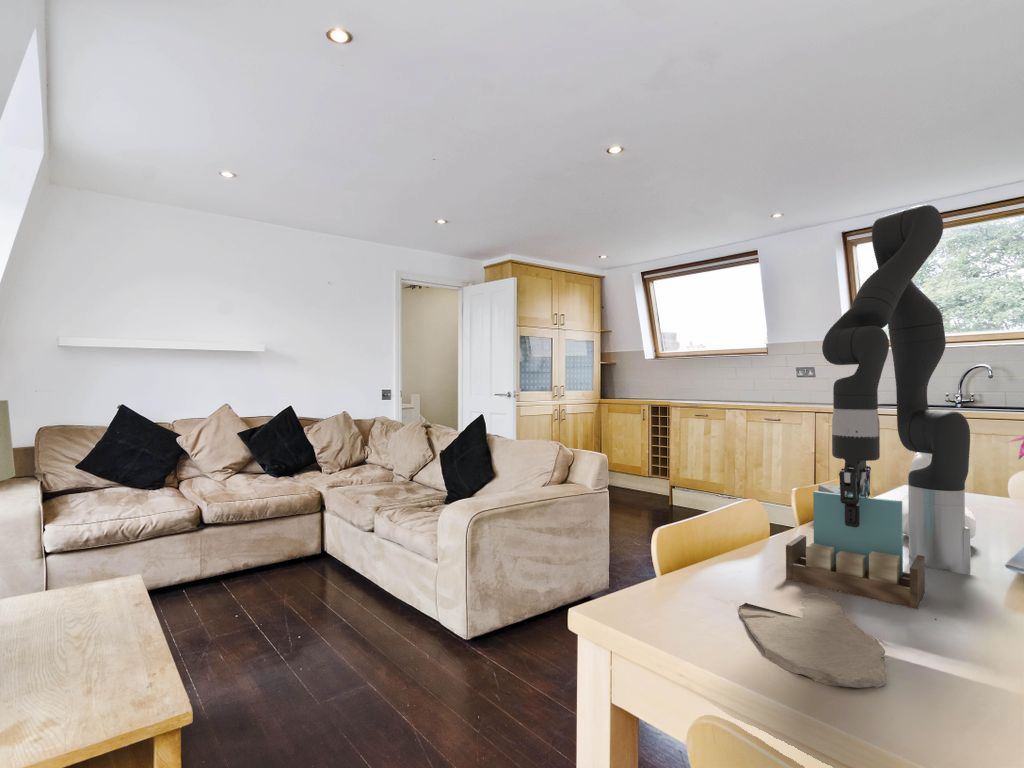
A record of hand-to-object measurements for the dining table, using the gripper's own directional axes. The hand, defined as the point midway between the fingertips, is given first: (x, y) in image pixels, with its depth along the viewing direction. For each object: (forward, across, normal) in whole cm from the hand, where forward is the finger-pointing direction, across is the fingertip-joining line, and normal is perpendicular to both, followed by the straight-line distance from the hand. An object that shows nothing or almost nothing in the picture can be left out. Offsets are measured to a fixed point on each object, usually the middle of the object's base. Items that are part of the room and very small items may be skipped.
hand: (855, 523), depth 100 cm
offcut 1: (+11, -4, +5) cm, 13 cm away
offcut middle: (+11, -4, 0) cm, 12 cm away
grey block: (+13, +56, +14) cm, 59 cm away
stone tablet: (+13, -27, +2) cm, 30 cm away
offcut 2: (+11, -4, -5) cm, 13 cm away
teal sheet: (+11, 0, 0) cm, 11 cm away
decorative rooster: (+13, +55, -7) cm, 57 cm away
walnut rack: (+12, -3, 0) cm, 13 cm away
